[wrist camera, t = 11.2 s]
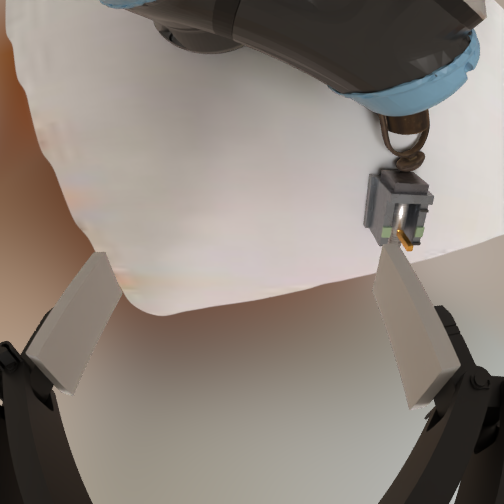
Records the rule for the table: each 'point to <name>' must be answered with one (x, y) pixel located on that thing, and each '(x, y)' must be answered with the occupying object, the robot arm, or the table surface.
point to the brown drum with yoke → (406, 127)
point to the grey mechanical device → (401, 183)
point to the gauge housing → (383, 208)
